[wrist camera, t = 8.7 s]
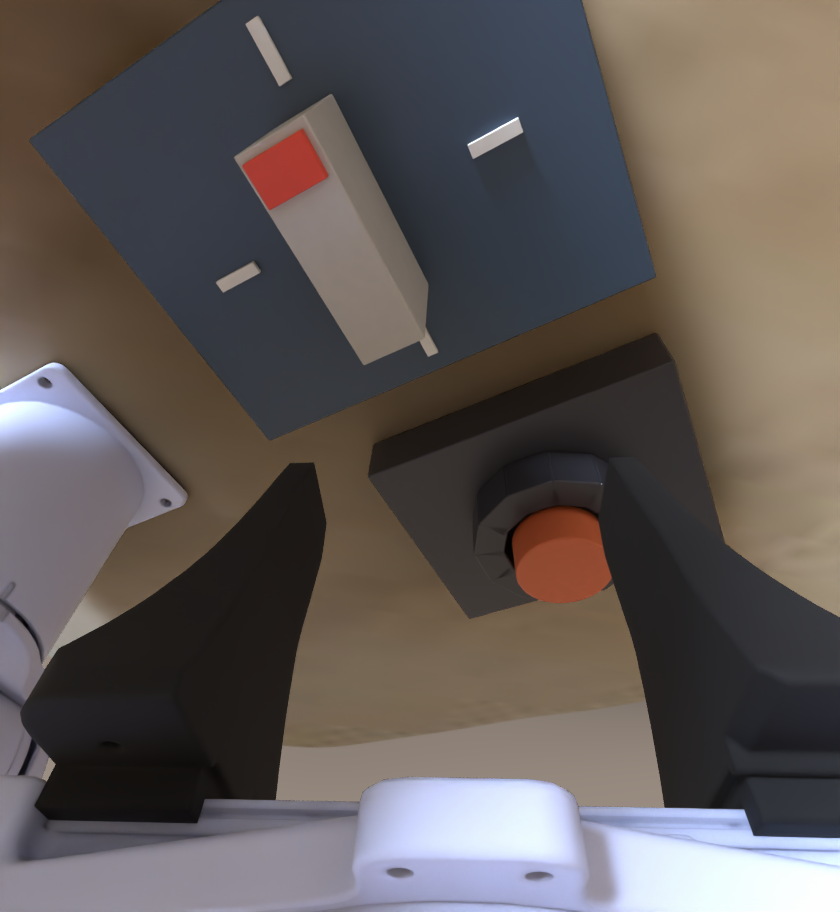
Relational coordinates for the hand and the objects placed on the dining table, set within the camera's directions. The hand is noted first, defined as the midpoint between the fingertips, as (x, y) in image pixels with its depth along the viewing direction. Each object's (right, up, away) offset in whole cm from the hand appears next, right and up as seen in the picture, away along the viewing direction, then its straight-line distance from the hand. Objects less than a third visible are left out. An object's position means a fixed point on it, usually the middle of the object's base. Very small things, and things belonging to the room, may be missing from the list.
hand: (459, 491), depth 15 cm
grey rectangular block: (-3, +8, +2) cm, 8 cm away
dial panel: (-3, +10, +4) cm, 11 cm away
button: (+4, -2, +8) cm, 10 cm away
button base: (+5, 0, +11) cm, 12 cm away
